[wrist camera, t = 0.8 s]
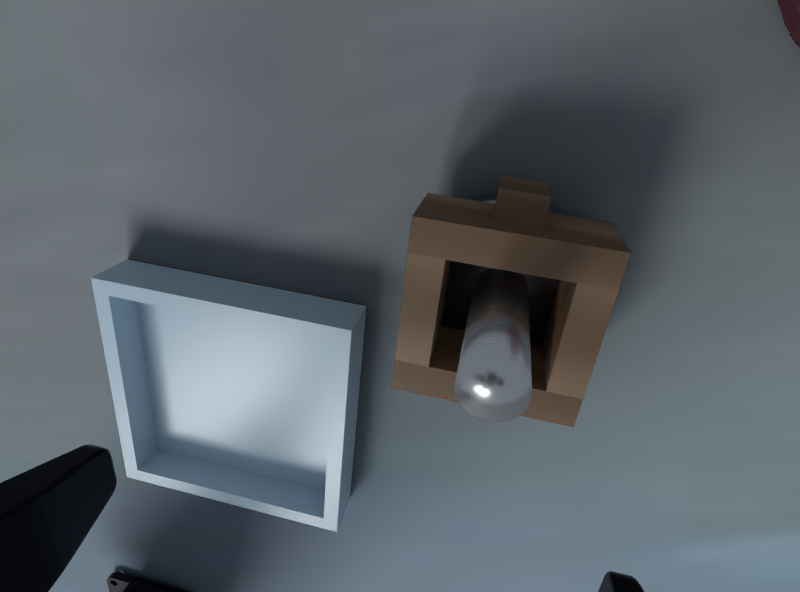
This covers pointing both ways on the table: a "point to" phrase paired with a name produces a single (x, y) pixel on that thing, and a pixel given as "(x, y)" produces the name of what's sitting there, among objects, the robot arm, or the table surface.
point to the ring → (517, 252)
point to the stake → (496, 334)
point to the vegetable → (791, 17)
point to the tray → (233, 388)
